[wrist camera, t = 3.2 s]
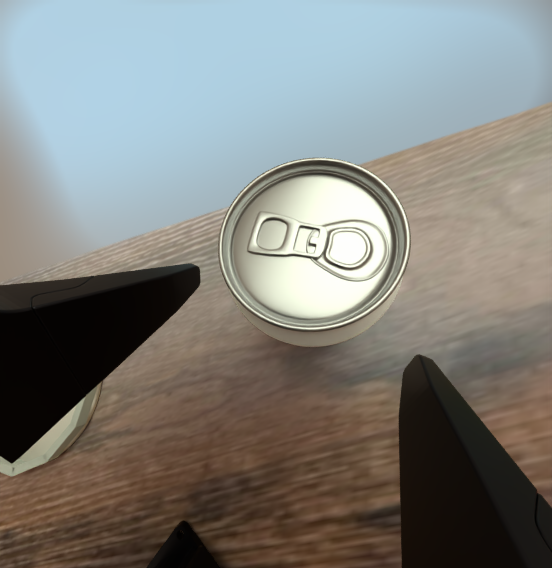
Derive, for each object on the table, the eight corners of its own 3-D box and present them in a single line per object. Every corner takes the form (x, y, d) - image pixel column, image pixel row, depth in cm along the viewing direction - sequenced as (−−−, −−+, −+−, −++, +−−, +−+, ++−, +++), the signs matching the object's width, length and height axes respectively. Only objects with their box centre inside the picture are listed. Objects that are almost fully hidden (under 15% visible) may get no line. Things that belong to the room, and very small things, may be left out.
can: (344, 354, 16) (413, 383, 5) (264, 332, 18) (175, 314, 6) (359, 275, 18) (441, 152, 6) (284, 260, 19) (239, 140, 8)
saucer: (26, 500, 18) (4, 512, 16) (-26, 395, 21) (-47, 399, 20) (126, 379, 19) (113, 381, 18) (61, 299, 22) (46, 296, 21)
